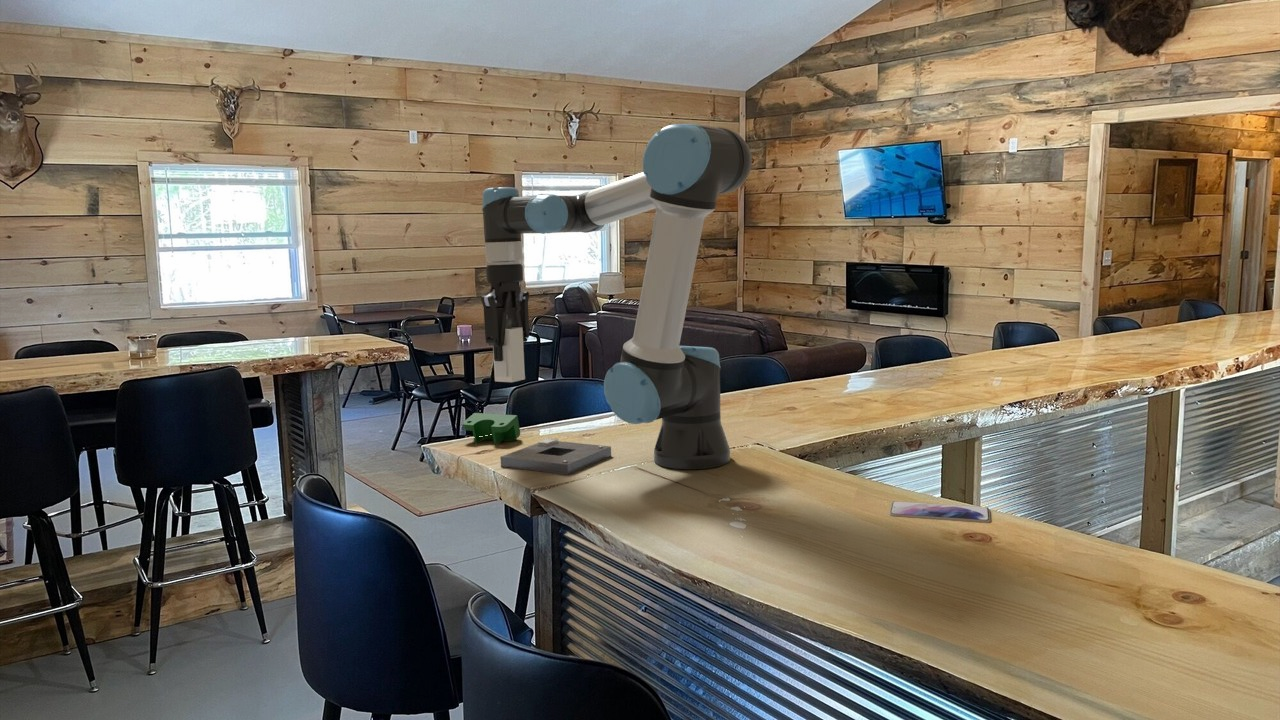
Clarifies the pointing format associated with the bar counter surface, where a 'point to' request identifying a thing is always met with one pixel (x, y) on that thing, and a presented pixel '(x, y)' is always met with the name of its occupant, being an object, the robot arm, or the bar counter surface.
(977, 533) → the bar counter surface
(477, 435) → the clamp
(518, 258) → the robot arm
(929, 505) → the smartphone
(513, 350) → the plug
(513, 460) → the socket
